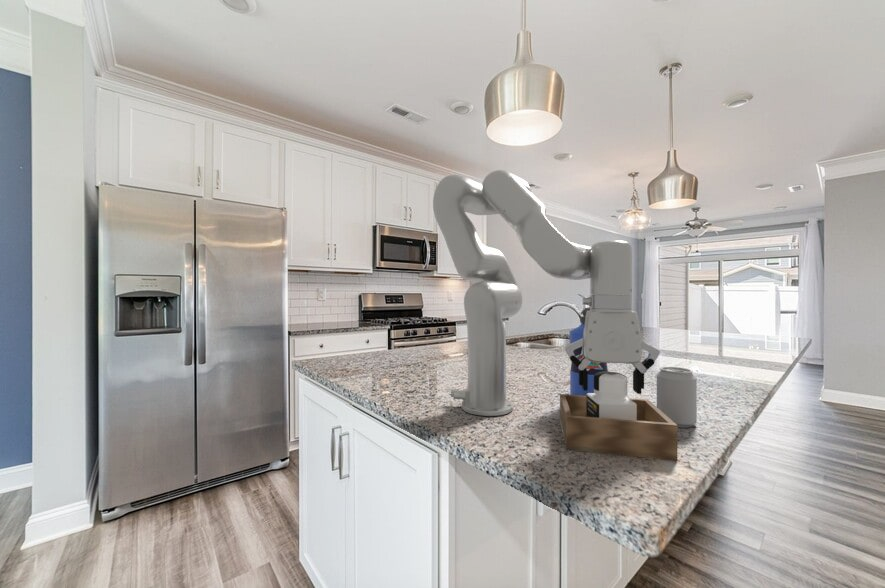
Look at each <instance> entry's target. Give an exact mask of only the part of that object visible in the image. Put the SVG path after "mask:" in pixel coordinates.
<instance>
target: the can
mask: <svg viewBox="0 0 885 588" xmlns="http://www.w3.org/2000/svg"><path fill="white" fill-rule="evenodd" d="M697 390H698V389H697V377H696V376H695V375H694V371H693V370H692V369H689V368H684V367H677V366H661V367H659V372H658V373H656V407H657V408H658V409H660V410H661V411H662V412H663V413H664V414H665V415H666V416H668V417H669V418H670V419H671V420H672V421H673V422H674V423H675V424H677V428H690V427H692V426H693V425H695V424H697V418H698V417H697V403H698V402H697V400H698V399H697V396H698V395H697V393H698V392H697Z"/></svg>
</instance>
